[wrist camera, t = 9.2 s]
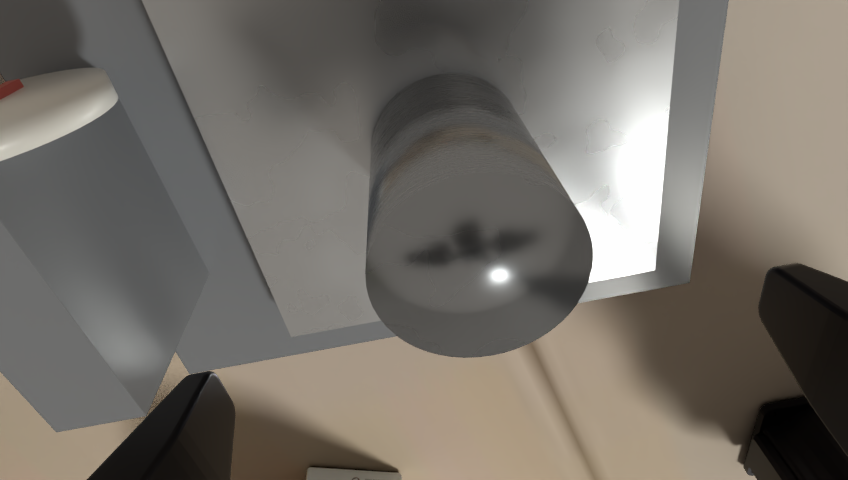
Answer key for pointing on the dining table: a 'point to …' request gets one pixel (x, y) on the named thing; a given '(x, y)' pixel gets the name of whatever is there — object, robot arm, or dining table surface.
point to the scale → (190, 213)
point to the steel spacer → (468, 223)
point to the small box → (349, 474)
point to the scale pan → (379, 82)
